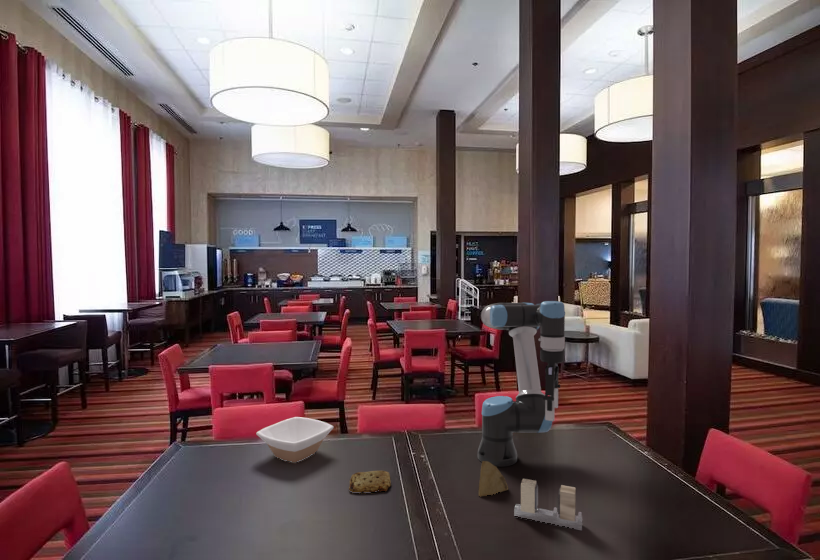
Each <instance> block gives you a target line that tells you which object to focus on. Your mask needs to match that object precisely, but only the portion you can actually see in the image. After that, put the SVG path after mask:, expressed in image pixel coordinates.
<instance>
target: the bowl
mask: <svg viewBox="0 0 820 560" xmlns="http://www.w3.org/2000/svg"><path fill="white" fill-rule="evenodd" d="M332 430H334V425H332V424H330V423H328V422H326V421H321V420H318V419H314V418H308V417H300V416H294V417H290V418H287V419H284V420H281V421H279V422H276V423H274V424H271V425H269V426H266V427H263V428H262V429H260V430H258V431H257V432H256V436H258V437H259V438H260V440H262V441H263V442H264V443H265V444H266V445H267V446H268V448H269V449H270V451H271V453H272V454H273V455H274V457H275V456H276V457H278V458H281V459H283V460H287V461H292V462H297V461H299V460H302V459H304V458H306V457H308V456H310V455H311V454H314V453H315V452H316V451H317V452H318V450H319V448H320V447H321V445H322V443H323V441H324V439H325V438H326V436H328V435H329V433H331V431H332ZM317 452H316V453H317ZM314 455H315V454H314ZM276 457H275V458H276ZM278 458H277V459H278Z"/></svg>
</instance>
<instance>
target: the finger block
mask: <svg viewBox="0 0 820 560" xmlns="http://www.w3.org/2000/svg"><path fill="white" fill-rule="evenodd" d="M576 490H577V489H576V487H574V486H569V485H563V484H561V485H560V488H559V489H558V497H557V498H558V501H557V503H558V504H557V505H558V506H557V512H558V514H559V515H560V519H564V520H570V521H575V515H576V498H577V497H576V494H577V493H576Z"/></svg>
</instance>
